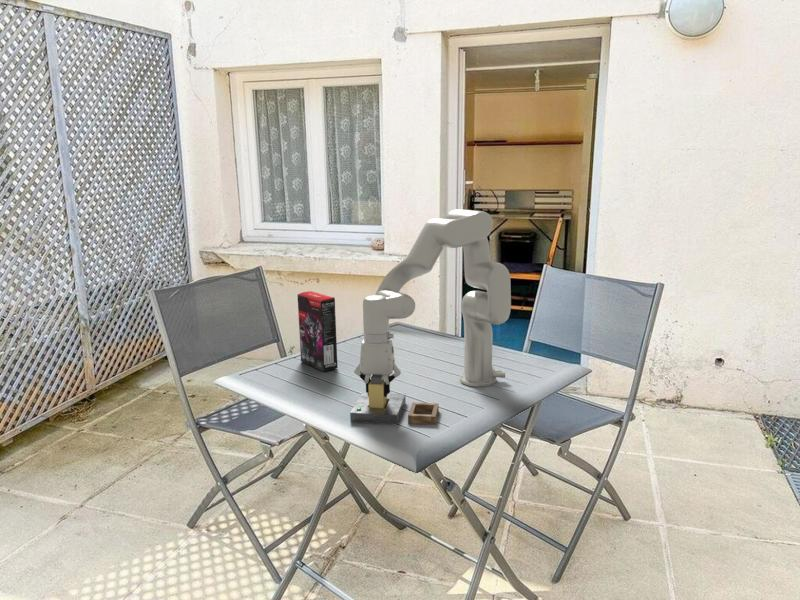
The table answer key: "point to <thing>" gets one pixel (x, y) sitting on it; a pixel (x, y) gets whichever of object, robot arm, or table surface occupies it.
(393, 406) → the port
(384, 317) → the robot arm
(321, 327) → the graphics card box
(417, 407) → the frame
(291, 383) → the table surface
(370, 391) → the plug
